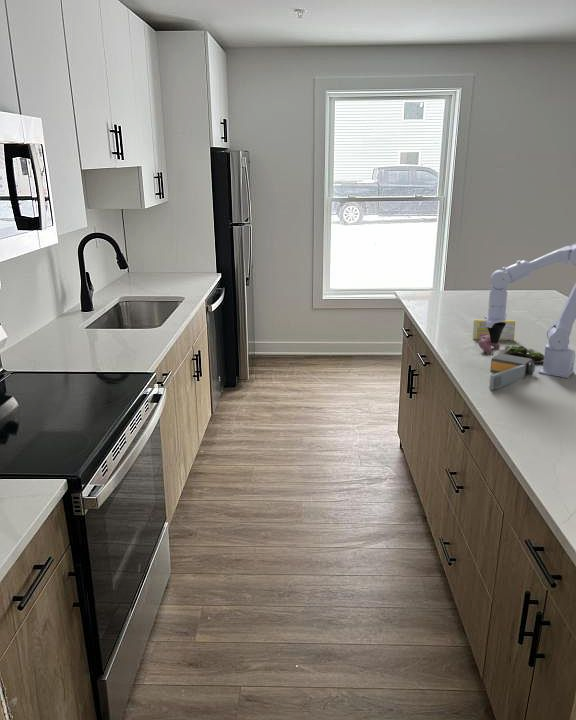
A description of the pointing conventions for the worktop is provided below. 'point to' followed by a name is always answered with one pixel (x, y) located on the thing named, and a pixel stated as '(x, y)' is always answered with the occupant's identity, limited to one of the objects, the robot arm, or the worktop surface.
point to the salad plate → (524, 353)
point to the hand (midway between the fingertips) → (494, 342)
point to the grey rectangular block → (511, 363)
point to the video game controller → (487, 344)
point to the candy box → (482, 330)
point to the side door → (507, 377)
